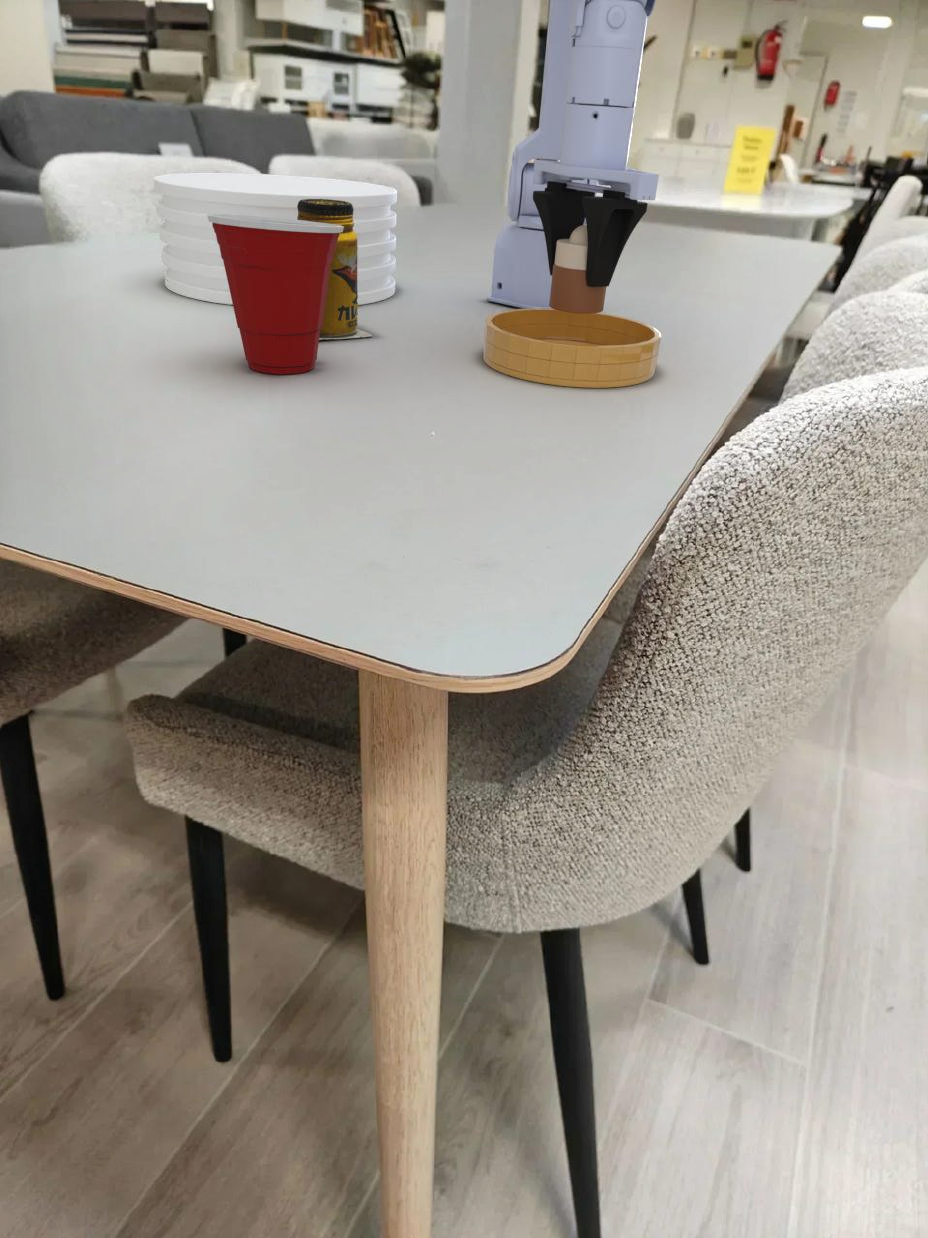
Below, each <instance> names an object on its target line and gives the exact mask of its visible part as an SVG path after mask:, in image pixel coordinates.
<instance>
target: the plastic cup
mask: <svg viewBox="0 0 928 1238" xmlns="http://www.w3.org/2000/svg"><path fill="white" fill-rule="evenodd" d="M207 216H208V220H209V222H212V226H213V228H214V232H215V233H216V237H217V243H218V244H219V247H220V252H221V257H222V259H223V262H224V266H225V271H226V276H227V280H228V285H229V289H230V294H231V298H232V303H233V305H232V307H233V312H234V316H235V320H236V321H235V322H236V327H237V329H239V333H240V338H241V343H242V348H243V352H244V356H245V360H246V361H247V365H248V368H250V369H251V370H253V371H256V372H258V373H264V374H272V375H294V374H303V373H305V372H309V371H310V372H311V371H312V370H313V369H314V368H315V364H316V361H317V359H318V352H319V351H318V350H319V344H320V340H319V336H320V329H321V328H322V322H323V315H324V308H325V301H326V294H327V287H328V280H329V273H330V266H331V264H332V260H333V253H334V251H335V248H336V242H337V241H338V237H339V233H341V232H343V229H344V227H343V226H341V225H335V224H328V223H321V222H312V221H304V220H294V219H284V218H272V217H260V216H246V215H228V214H207Z"/></svg>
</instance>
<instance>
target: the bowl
mask: <svg viewBox="0 0 928 1238" xmlns="http://www.w3.org/2000/svg"><path fill="white" fill-rule="evenodd" d="M483 331H484V332H483V345H482V350H483V356H482V357H483V362H484V363H485V364H486V365H487V366H488V367H489V368H491V369H493V370H495V371H496V372H499V373H501V374H504V375H507V376H509V377H513V378H516V379H520V380H523V381H528V382H529V381H530V382H534V383H538V384H544V385H550V386H551V385H552V386H558V387H568V388H569V387H570V388H583V389H584V388H586V389H588V388H589V389H609V388H622V387H627V386H628V387H629V386H634V385H635V386H636V385H639V384H643V383H644V382H647V381H649V380H650V379H652V378H653V377H654V375H655V372H656V368H657V363H658V355H659V350H660V346H661V345H660V344H661V339H662V334H661V332H660V331H659V330H658V329H657V328H655V327H654V326H652V325H650V324H648V323H645V322H642V321H639V320H636V319H632V318H629V317H624V316H620V315H615V314H611V313H610V314H609V313H605V312H599V313H592V314H581V313H570V312H563V311H559V310H555V309H553V308H526V309H523V308H514V309H508V310H501V311H497V312H494V313H492V314H489V315H488V316H487V317H486V318H485V320H484V330H483Z"/></svg>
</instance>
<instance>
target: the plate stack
mask: <svg viewBox="0 0 928 1238" xmlns="http://www.w3.org/2000/svg"><path fill="white" fill-rule="evenodd" d="M153 187H154V191H155V192H156V193H158V194H161V195H162V199H159V200H157V201H156V202H155V204H156V213H157V216H158V217H159V218H161V219H163V220H164V222H162V223H161V224H159V225H158V232H159V240H160V241H162V243H164V244H166V245H165V246H164V247H162V248H161V259H162V260H161V262H162V264H163V265H164V266H166V267H167V269H165V270H164V271H163V278H164V286H165V287H166V289H168V290H169V291H171V292H173V293H175V294H177V295H180V296H183V297H186V298H190V299H194V300H198V301H204V302H209V303H215V304H220V305H221V304H222V305H228V306H229V305H230V306H233V303H232V298H231V294H230V289H229V285H228V280H227V276H226V271H225V266H224V262H223V259H222V257H221V252H220V247H219V244H218V243H217V237H216V233H215V232H214V228H213V226H212V222H209V220H208V216H207V214H228V215H246V216H260V217H272V218H284V219H294V220H297V218H298V208H297V205H298V202H299V201H300V200H303V199H329V200H340V201H345V202H349V203H351V204H352V206H353V209H354V211H353V222H354V226H353V231H354V232H355V233H356V236H357V246H358V250H357V290H358V291H357V293H358V299H357V302H358V306H363V305H369V304H373V303H378V302H382V301H384V300H387V299H390V298H391V297H392V296H394V294H395V293H396V279H395V278H394V276H392V275H393V274H394V273H395V272H396V268H397V267H396V266H397V265H396V264H397V258H396V257H395V255H393V254H391V253H392V252H395V250H396V249H397V236H396V234H394V233H392V232H391V230H392V229H394V228H396V227H397V221H398V220H397V216H398V215H397V213H396V212H395V211H394V210H391V206H394V205H396V204H397V203H398V190H397V189H396V188H395V187H391V186H387V185H382V184H377V183H372V182H365V181H359V180H358V181H357V180H348V179H340V178H339V179H338V178H329V177H317V176H304V175H303V176H302V175H291V174H290V175H289V174H274V173H273V174H271V173H270V174H269V173H248V172H247V173H246V172H180V173H165V174H159V175H155V176H154V177H153ZM164 276H165V277H164ZM165 278H166V279H167V280H168V281H167V280H166V279H165ZM169 281H170V282H169Z"/></svg>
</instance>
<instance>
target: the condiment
mask: <svg viewBox="0 0 928 1238" xmlns="http://www.w3.org/2000/svg"><path fill="white" fill-rule="evenodd" d="M297 208H298V218H297V220H304V221H312V222H321V223H328V224H335V225H341V226H343V227H344V229H343V232H341V233H339V237H338V241H337V242H336V248H335V251H334V253H333V260H332V264H331V266H330V273H329V280H328V287H327V294H326V301H325V308H324V315H323V322H322V328H321V329H320V336H319V341H320V340H321V341H322V340H344V339H345V340H346V339H357V338H369V337H372V336H373V334H371V333H369V332H367V331H364V330H362V329H360V328H357V326H358V315H359V314H358V309H359V305H358V302H357V299H358V293H357V291H358V290H357V250H358V246H357V236H356V233H355V232H354V231H353V226H354V222H353V211H354V209H353V206H352V204H351V203H349V202H345V201H340V200H329V199H303V200H300V201H299V202H298V205H297Z"/></svg>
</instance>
